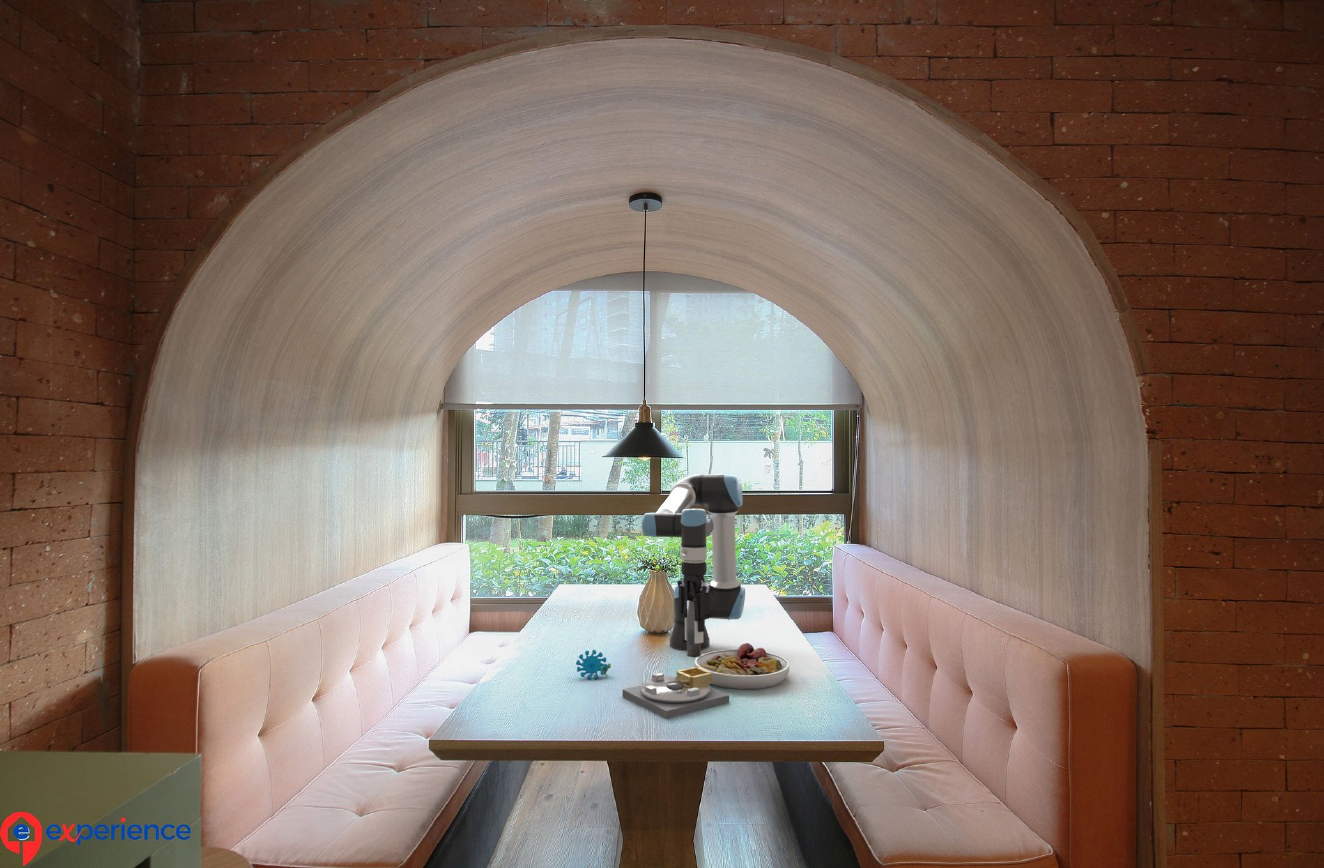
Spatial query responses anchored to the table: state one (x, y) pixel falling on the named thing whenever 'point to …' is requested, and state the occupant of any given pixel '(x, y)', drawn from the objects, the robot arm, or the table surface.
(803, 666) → the table surface
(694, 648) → the pin
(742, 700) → the table surface
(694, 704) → the nut plate
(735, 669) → the bowl
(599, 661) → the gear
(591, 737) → the table surface
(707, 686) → the silver disc with box
